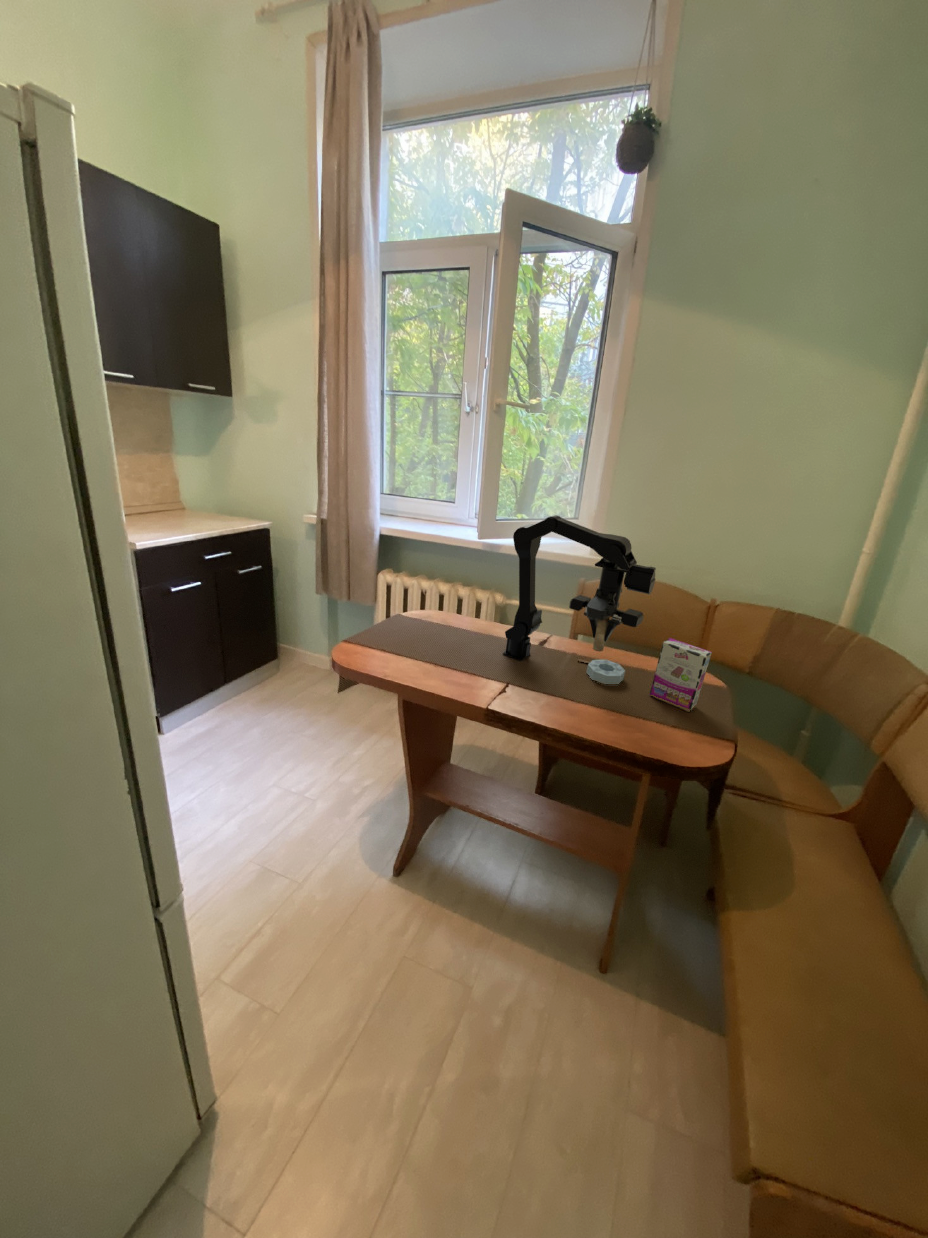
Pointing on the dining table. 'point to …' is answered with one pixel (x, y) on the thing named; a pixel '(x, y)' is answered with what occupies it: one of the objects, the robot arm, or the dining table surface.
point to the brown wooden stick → (583, 661)
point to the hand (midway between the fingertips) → (600, 639)
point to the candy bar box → (680, 673)
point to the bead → (605, 671)
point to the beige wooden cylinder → (600, 634)
